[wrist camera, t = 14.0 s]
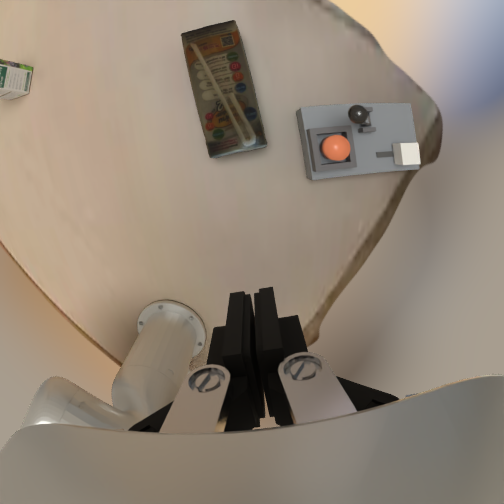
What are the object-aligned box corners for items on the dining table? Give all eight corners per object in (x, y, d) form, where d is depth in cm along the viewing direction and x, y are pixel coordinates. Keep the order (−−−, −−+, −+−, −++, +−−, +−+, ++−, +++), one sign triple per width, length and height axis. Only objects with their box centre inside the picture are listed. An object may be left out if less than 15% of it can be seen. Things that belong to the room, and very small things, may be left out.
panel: (406, 167, 41) (426, 170, 35) (307, 177, 42) (316, 181, 36) (398, 106, 38) (417, 101, 32) (296, 111, 38) (303, 104, 32)
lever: (375, 127, 34) (368, 122, 26) (359, 128, 35) (348, 124, 27) (372, 111, 34) (364, 102, 25) (357, 113, 35) (344, 104, 26)
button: (344, 158, 36) (352, 159, 33) (321, 161, 36) (327, 161, 33) (341, 135, 35) (348, 133, 32) (318, 137, 35) (323, 136, 32)
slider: (411, 163, 36) (420, 163, 34) (394, 164, 36) (402, 165, 34) (409, 142, 35) (418, 142, 33) (392, 143, 36) (400, 143, 33)
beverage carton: (213, 160, 41) (206, 160, 35) (187, 46, 35) (177, 30, 29) (267, 147, 40) (269, 145, 34) (238, 33, 34) (236, 15, 28)
